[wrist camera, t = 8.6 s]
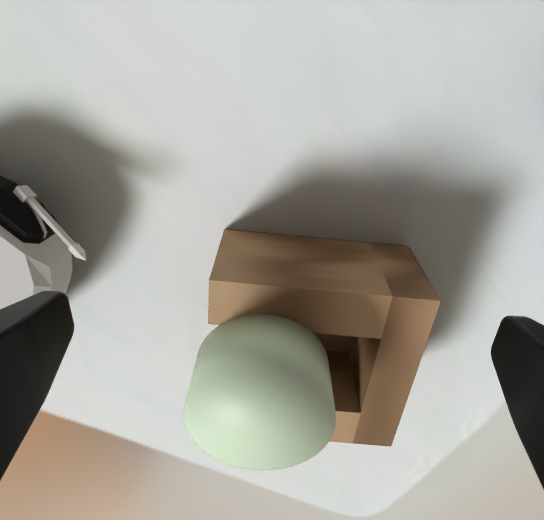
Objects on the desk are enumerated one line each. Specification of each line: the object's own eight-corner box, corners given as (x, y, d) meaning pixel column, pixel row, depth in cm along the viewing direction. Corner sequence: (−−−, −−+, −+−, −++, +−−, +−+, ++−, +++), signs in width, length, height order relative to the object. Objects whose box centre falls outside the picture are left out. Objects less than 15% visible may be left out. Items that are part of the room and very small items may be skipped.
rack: (408, 246, 21) (441, 300, 17) (372, 375, 26) (390, 446, 21) (224, 229, 21) (209, 280, 17) (219, 362, 25) (205, 431, 21)
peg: (314, 375, 23) (323, 475, 18) (206, 365, 23) (183, 464, 18) (331, 283, 20) (348, 371, 15) (208, 272, 20) (181, 356, 15)
